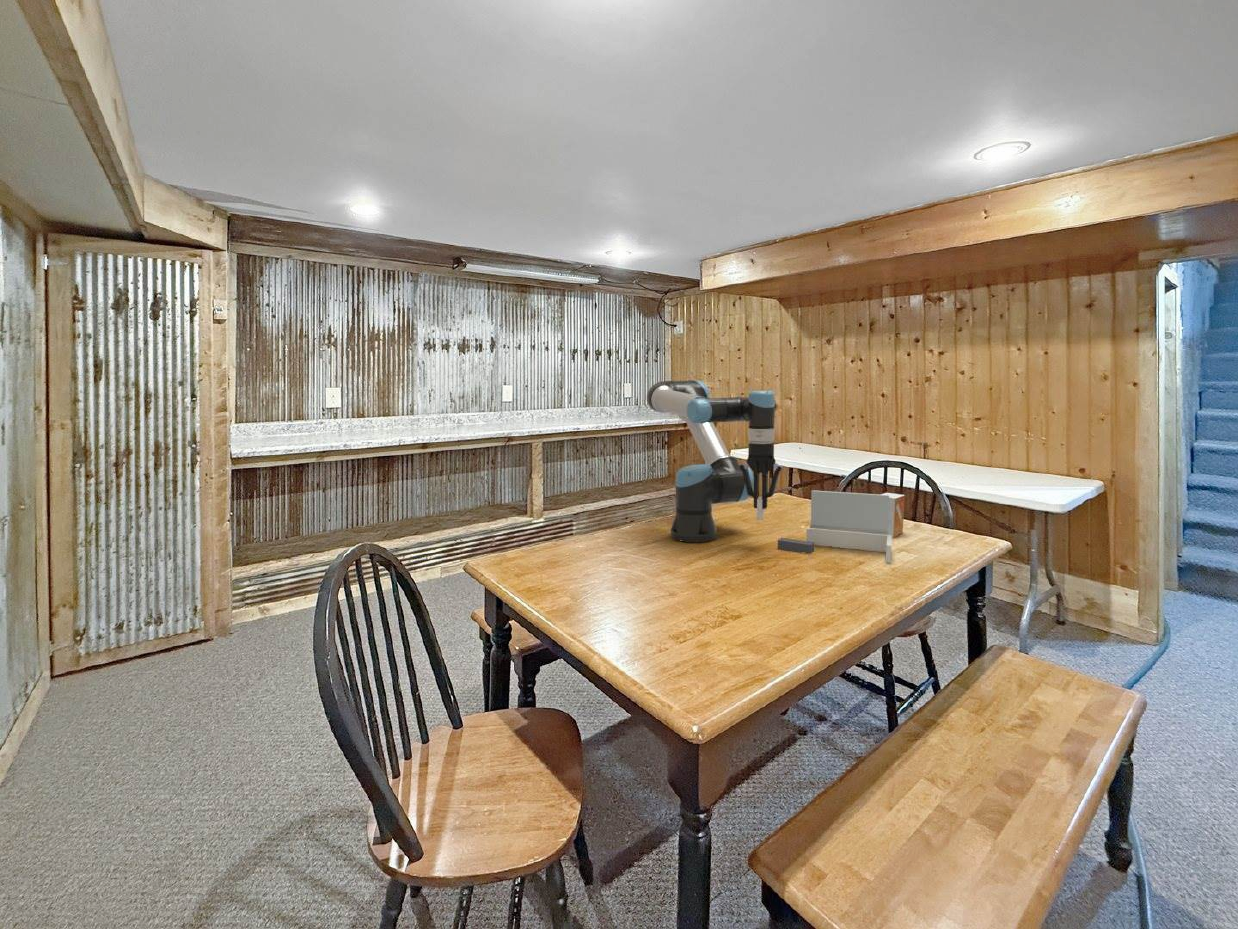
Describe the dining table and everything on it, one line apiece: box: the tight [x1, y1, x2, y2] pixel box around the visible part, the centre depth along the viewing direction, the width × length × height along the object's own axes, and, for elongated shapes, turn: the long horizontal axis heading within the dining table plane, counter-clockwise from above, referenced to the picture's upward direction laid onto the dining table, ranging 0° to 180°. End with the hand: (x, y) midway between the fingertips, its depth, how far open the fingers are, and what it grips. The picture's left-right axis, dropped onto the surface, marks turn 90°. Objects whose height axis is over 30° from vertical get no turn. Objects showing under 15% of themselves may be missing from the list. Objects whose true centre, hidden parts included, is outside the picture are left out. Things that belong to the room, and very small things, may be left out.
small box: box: [879, 492, 906, 539], centre depth 192 cm, size 8×6×13 cm
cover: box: [809, 490, 889, 535], centre depth 175 cm, size 22×12×1 cm
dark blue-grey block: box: [777, 537, 815, 554], centre depth 177 cm, size 10×4×3 cm, turn 56°
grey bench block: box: [805, 527, 893, 564], centre depth 174 cm, size 24×14×5 cm, turn 65°
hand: (760, 518), depth 180 cm, fingers closed
